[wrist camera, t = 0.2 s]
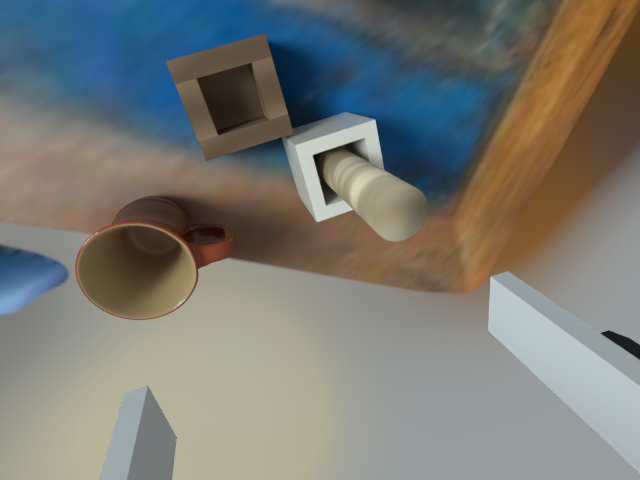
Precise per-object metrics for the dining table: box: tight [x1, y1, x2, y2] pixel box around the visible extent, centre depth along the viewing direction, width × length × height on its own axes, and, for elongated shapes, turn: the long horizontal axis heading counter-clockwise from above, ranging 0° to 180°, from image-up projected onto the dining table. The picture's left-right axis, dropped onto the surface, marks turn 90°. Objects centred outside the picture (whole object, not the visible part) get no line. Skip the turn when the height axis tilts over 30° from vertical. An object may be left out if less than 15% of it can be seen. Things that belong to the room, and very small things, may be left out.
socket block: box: [166, 34, 293, 161], centre depth 32 cm, size 8×8×5 cm
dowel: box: [312, 146, 428, 241], centre depth 30 cm, size 4×4×18 cm
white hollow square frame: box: [282, 112, 384, 222], centre depth 35 cm, size 7×7×8 cm
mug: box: [75, 196, 236, 320], centre depth 33 cm, size 12×9×10 cm
